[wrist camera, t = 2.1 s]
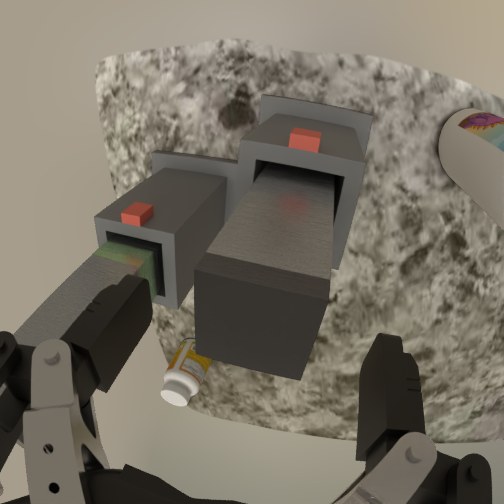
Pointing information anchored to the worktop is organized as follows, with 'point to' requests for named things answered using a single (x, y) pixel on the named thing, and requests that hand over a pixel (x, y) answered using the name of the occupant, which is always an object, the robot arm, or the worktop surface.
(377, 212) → the worktop surface
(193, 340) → the supplement bottle
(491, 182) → the milk bottle
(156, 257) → the column
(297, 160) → the stand
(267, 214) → the column
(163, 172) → the stand
